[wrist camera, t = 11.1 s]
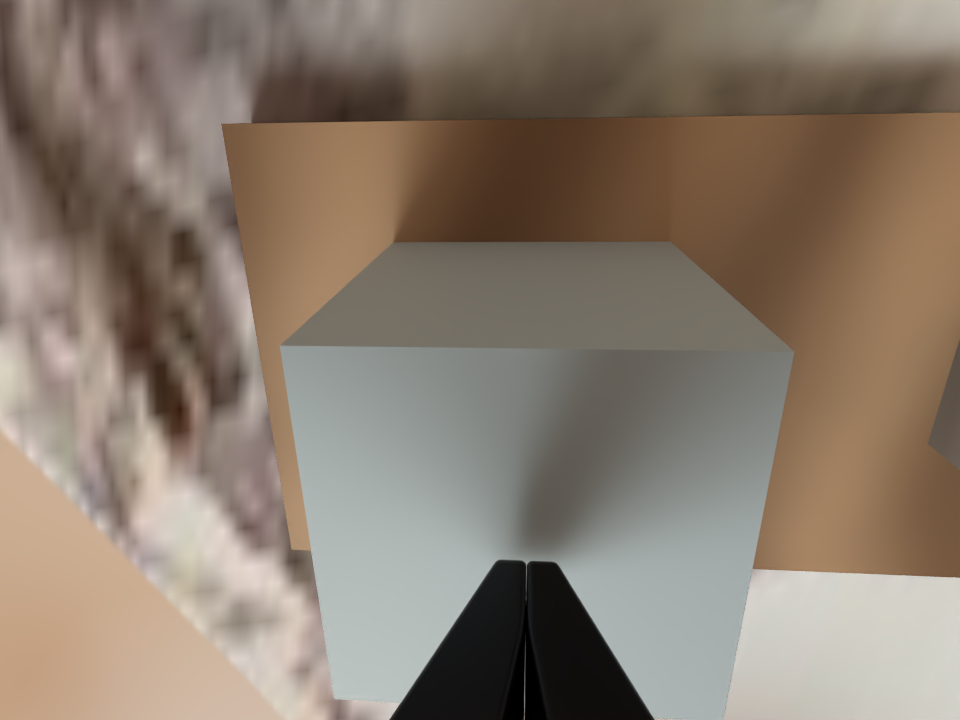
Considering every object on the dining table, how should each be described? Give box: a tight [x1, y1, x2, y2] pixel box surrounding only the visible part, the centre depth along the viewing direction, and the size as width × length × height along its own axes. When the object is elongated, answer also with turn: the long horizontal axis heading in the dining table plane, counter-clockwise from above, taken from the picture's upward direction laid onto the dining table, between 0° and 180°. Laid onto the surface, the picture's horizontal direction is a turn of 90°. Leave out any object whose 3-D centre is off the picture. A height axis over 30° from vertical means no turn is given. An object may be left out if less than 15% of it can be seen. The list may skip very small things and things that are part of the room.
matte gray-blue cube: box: [280, 242, 794, 720], centre depth 12 cm, size 6×6×7 cm
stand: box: [222, 112, 960, 578], centre depth 13 cm, size 26×12×8 cm, turn 91°
